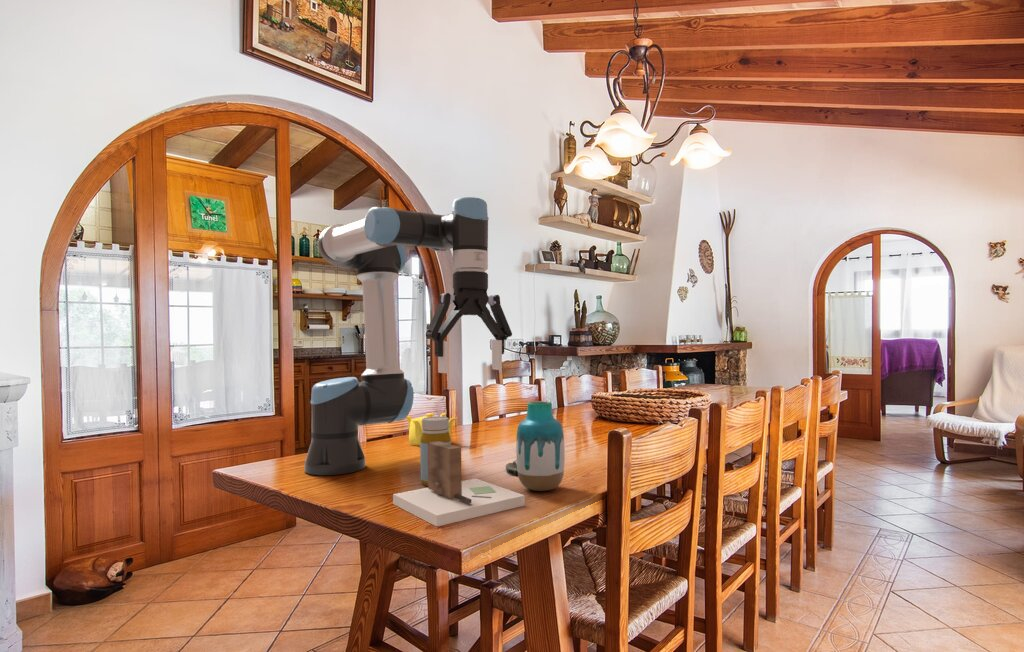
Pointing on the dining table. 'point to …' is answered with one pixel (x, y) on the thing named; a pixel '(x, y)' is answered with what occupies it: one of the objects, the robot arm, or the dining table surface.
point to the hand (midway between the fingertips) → (470, 371)
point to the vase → (540, 448)
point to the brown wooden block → (445, 470)
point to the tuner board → (458, 502)
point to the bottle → (432, 440)
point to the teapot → (416, 428)
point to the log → (512, 468)
